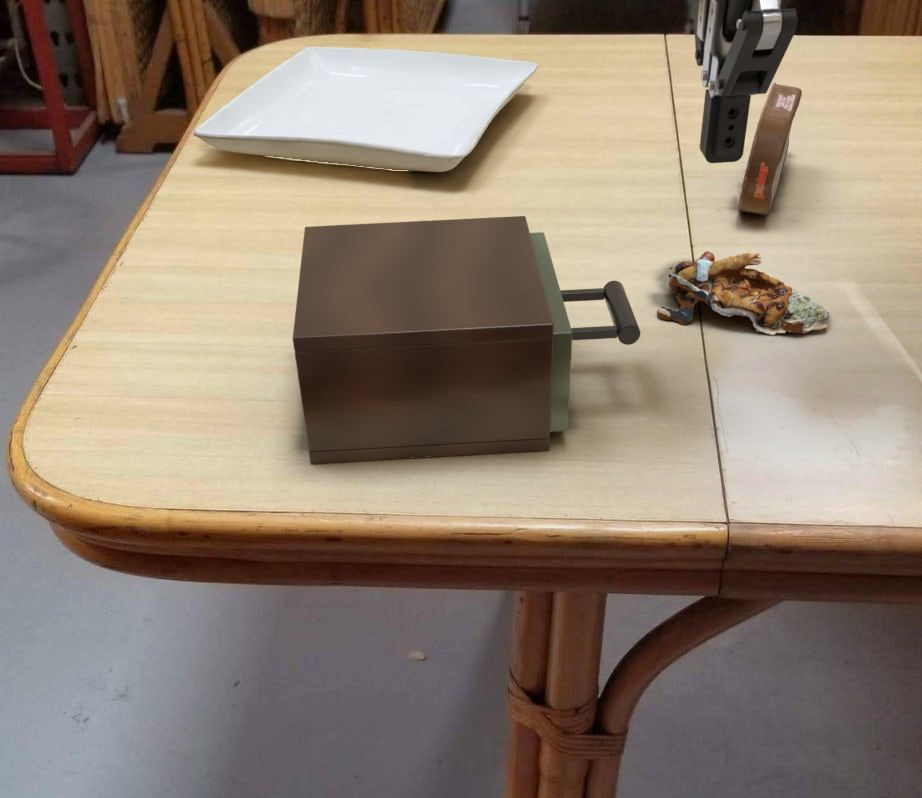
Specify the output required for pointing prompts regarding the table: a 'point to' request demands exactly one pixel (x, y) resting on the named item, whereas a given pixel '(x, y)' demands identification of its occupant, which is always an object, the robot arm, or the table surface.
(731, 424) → the table surface
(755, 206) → the brown snack box
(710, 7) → the robot arm
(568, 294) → the drawer
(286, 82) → the square plate
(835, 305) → the table surface
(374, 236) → the cabinet
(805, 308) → the brown sculpted figurine
